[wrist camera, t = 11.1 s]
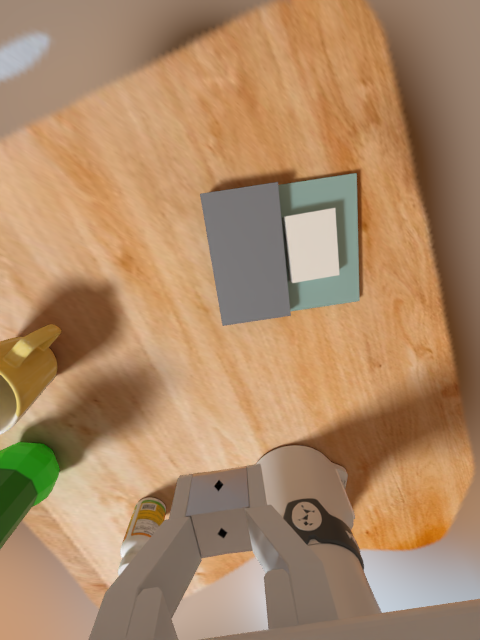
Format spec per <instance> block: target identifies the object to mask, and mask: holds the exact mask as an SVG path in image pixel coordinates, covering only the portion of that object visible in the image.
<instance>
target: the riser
mask: <svg viewBox="0 0 480 640" xmlns="http://www.w3.org/2000/svg"><path fill="white" fill-rule="evenodd" d="M200 197H201V202H202V208H203V214H204V220H205V226H206V232H207V237H208V243H209V249H210V255H211V261H212V266H213V272H214V278H215V284H216V290H217V296H218V301H219V307H220V313H221V319H222V325H223V326H224V325H231V324H238V323H244V322H251V321H258V320H264V319H271V318H278V317H284V316H291V314H290V303H289V293H288V282H287V272H286V262H285V251H284V241H283V230H282V220H281V210H280V199H279V189H278V182H275V183H268V184H262V185H255V186H249V187H242V188H236V189H229V190H222V191H216V192H209V193H203V194H200Z"/></svg>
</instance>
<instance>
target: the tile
mask: <svg viewBox="0 0 480 640" xmlns="http://www.w3.org/2000/svg"><path fill="white" fill-rule="evenodd" d="M282 223H283V232H284V240H285V249H286V257H287V266H288V275H289V281H290V282H292V283H296V282H302V281H308V280H314V279H319V278H325V277H331V276H337V275H339V259H338V243H337V227H336V212H335V208H331V209H325V210H320V211H314V212H308V213H303V214H297V215H291V216H286V217H283V218H282Z"/></svg>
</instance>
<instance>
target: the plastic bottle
mask: <svg viewBox="0 0 480 640" xmlns="http://www.w3.org/2000/svg"><path fill="white" fill-rule="evenodd" d="M59 471H60V469H59V465H58V462H57V460H56V458H55V455H54V453H53V450H52V449H50V448H49V447H47V446H46V445H44V444H40V443H27V442H18V443H16V444H14V445H12V446H9V447H7V448H5V449H3V450H1V451H0V549H1V548H2V546H3V545H4V544H5V542H6V541H7V539H8V538H9V537H10V536H11V534H12V533H13V532H14V530H15V529H16V527H17V526H18V525H19V523H20V522H21V521H22V519H23V518H24V517H25V515H26V514H27V513H28V511H29V510H30V509H31V507H33V506H35V505H36V504H38V503H40V502H41V501H43V500H44V499H45V498H47V497H48V495H49V494H50V492H51V491H52V489H53V487H54V485H55V482H56V480H57V478H58V475H59Z"/></svg>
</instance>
